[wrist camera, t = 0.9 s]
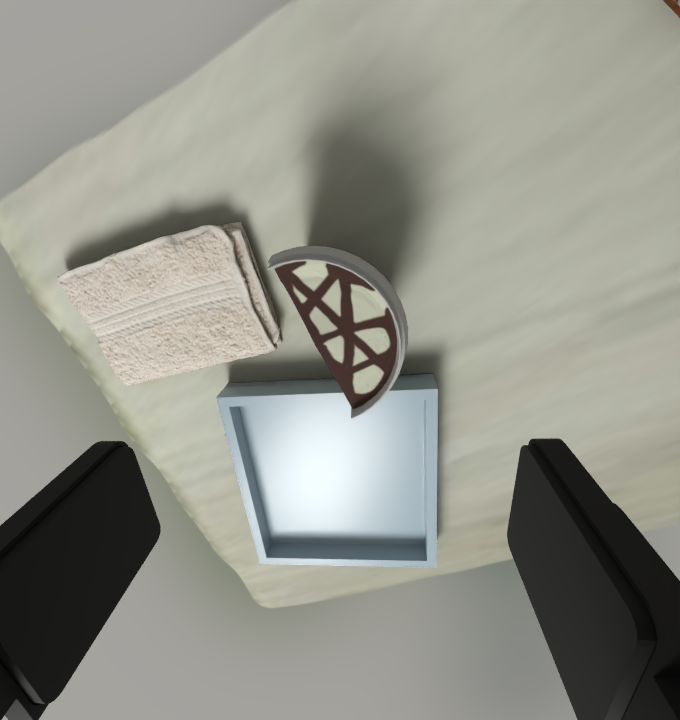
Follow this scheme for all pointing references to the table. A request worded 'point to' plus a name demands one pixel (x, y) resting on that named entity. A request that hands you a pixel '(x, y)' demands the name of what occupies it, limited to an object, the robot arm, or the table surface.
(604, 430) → the table surface
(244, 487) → the tray
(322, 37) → the table surface
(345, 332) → the food container
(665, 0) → the mug
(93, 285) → the washcloth
